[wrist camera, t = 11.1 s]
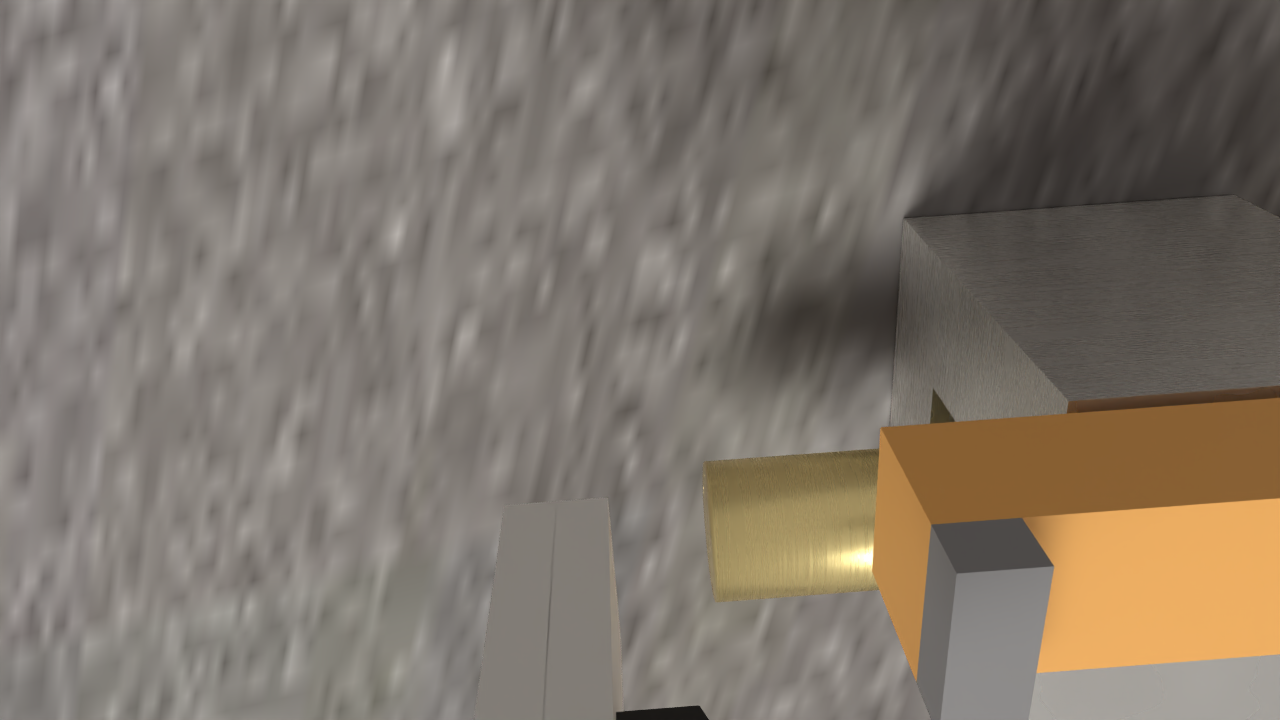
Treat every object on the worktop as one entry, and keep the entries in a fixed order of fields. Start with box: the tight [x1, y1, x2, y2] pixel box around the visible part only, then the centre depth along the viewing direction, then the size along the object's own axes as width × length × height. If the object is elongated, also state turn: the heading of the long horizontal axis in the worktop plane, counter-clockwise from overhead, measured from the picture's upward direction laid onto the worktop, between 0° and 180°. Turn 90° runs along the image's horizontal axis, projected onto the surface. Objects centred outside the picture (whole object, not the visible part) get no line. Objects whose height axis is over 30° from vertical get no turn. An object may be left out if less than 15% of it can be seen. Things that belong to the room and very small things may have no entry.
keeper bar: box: [872, 398, 1280, 720], centre depth 14 cm, size 3×10×4 cm, turn 93°
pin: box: [703, 449, 879, 602], centre depth 21 cm, size 6×16×6 cm, turn 93°
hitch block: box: [890, 195, 1280, 720], centre depth 21 cm, size 10×8×9 cm
